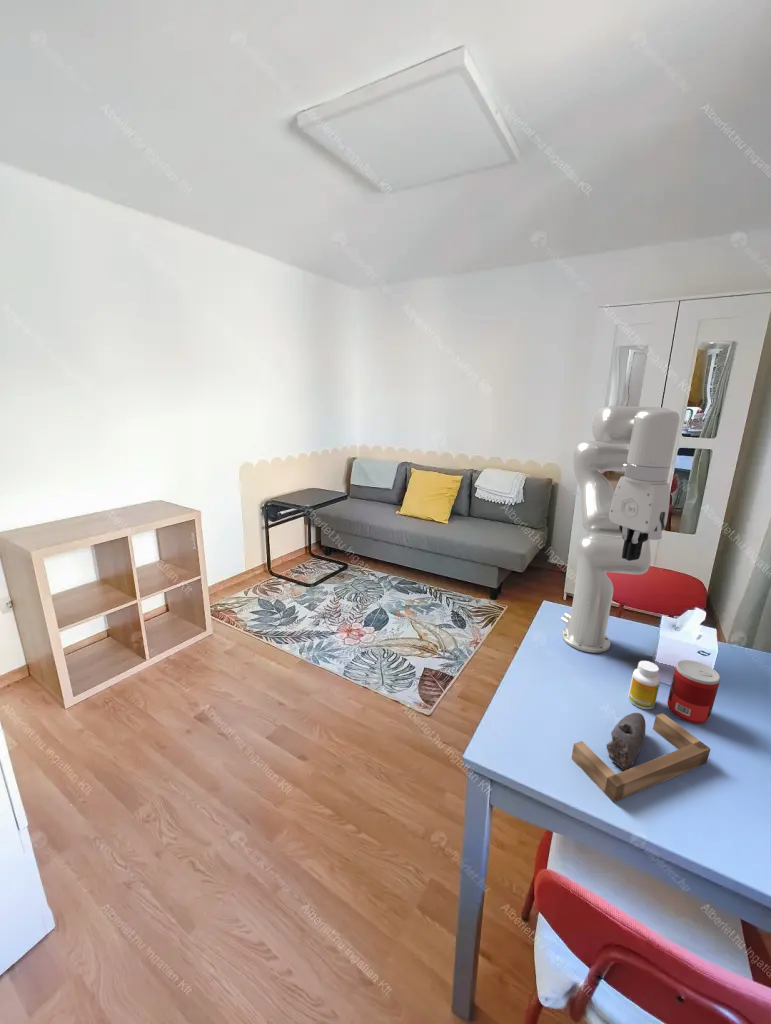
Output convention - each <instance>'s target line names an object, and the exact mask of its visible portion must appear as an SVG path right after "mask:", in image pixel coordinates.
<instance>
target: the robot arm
mask: <svg viewBox="0 0 771 1024" xmlns="http://www.w3.org/2000/svg"><path fill="white" fill-rule="evenodd" d="M680 419H681V418H680V414H679V413H678V412H677V411H674V410H670V409H669V408H667V407H662V406H661V407H659V406H632V405H631V406H629V405H628V406H627V405H620V406H619V405H611V406H608V405H607V406H604V407H600V408H598V410H596V413H595V415H594V417H593V421H592V427H591V429H592V437H593V439H594V440H587V441H582V442H579V444H577V445H576V447H575V448H574V451H573V458H572V461H573V464H572V465H573V470H574V471H573V472H574V476H575V479H576V481H577V483H578V486H579V489H580V498H581V499H580V501H581V503H580V504H581V507H580V509H581V522H582V527H583V529H584V531H585V532H587V533H590V534H589V535H586V536H583V537H581V538H580V539H579V540H578V543H577V547H576V548H577V549H576V559H577V560H576V577H575V585H574V593H573V599H572V603H571V604H572V605H571V611H570V612H565V613H564V615H563V616H562V617H561V618H560V619H561V621H562V622H563V623H565V624H566V626H565V627H564V628H563V629H562V631H561V637H562V639H563V641H564V642H565V643H566V644H568V645H569V646H571V647H572V648H574V649H576V650H579V651H582V652H586V653H592V654H593V653H594V654H596V653H597V654H599V653H604V652H606V651H608V650H609V649H610V647H611V641H610V638H609V637H608V636H607V635H606V634H607V628H608V623H609V618H610V612H611V606H612V601H613V594H614V585H613V582H612V580H611V579H610V577H609V576H608V575H607V573H616V574H627V575H643V574H645V573H647V572H648V571H649V569H650V566H651V561H652V560H651V559H652V554H651V553H652V552H651V543H650V541H651V540H655V541H656V540H661V539H662V536H663V535H662V533H663V532H662V531H664V530H665V528H666V526H667V522H668V515H669V509H670V499H671V489H670V483H669V482H668V480H669V475H670V470H671V464H672V460H673V454H674V449H675V445H676V440H677V435H678V430H679V425H680ZM600 471H608V472H609V471H610V472H611V471H612V472H623V473H624V475H622V476H620V478H619V480H618V482H617V485H616V487H615V490H614V487H613V485H612V483H611V482H610V481H609V479H608V478H607V477H606V476H605V475H603V474H602V473H601V472H600Z"/></svg>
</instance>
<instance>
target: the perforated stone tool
mask: <svg viewBox="0 0 771 1024" xmlns="http://www.w3.org/2000/svg"><path fill="white" fill-rule="evenodd" d="M645 736H646V720H645V717H644V716H643V714H642V713H640V712H631V713H630V714H627V715H625V716H624V717H622V719H621V720H619V721H618V723H616V724H615V726H614V728H613V729H612V731H611V740H610V741H609V742H608V743H607V744H605V745H606V750H607V753H608V757H609V759H610V760H612V762H613V763H615V764H616V765H617V766H618V767H619V768H620V769H622V770H624V771H625V770H628V769H630V768H632V765H634V763H635V762H636V759H637V758H638V756H639V754H640V752H641V751H642V747H643V744H644V742H645V741H644V740H645Z"/></svg>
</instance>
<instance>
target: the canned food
mask: <svg viewBox="0 0 771 1024" xmlns="http://www.w3.org/2000/svg"><path fill="white" fill-rule="evenodd" d="M720 682H721V675H720V674H719V673H718V671H716V670H715V669H714V668H712V667H711V666H708V665H707V664H704V663H702V662H698V661H695V660H689V659H684V660H683V659H681V660H679V661H677V662H676V665H675V668H674V672H673V675H672V679H671V686H670V688H669V694H668V698H667V707H668V710H669V711H670V712H671V713H672V714H673V715H675V716H676V717H677V718H678V719H681V720H683V721H685V722H686V723H687V722H688V723H691V724H697V725H698V724H699V725H700V724H705V723H707V722H708V721H709V720H710V718H711V714H712V711H713V707H714V704H715V700H716V696H717V694H718V690H719V687H720Z"/></svg>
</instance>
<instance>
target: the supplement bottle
mask: <svg viewBox="0 0 771 1024" xmlns="http://www.w3.org/2000/svg"><path fill="white" fill-rule="evenodd" d="M659 671H660V668H659V667H658V665H657V664H656V663H653V662H652V661H649V660H640V661H639V662H638V664H637V668H635V669H634V671H633V672H632V676H631V680H630V685H629V689H628V696H627V698H628V700H629V702H630V703H631V704H633V705H634V706H635V707H637V708H639V709H642V710H652V709H653V708H655V705H656V702H657V696H658V692H659V689H660V684H661V678H660V676H659V673H660V672H659Z"/></svg>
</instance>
